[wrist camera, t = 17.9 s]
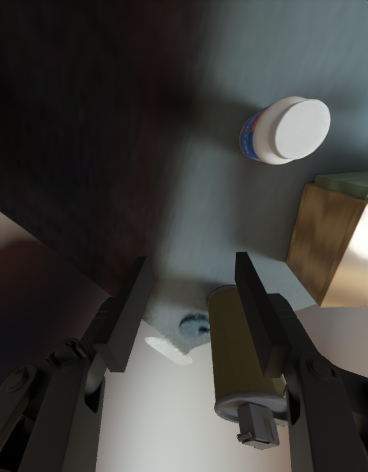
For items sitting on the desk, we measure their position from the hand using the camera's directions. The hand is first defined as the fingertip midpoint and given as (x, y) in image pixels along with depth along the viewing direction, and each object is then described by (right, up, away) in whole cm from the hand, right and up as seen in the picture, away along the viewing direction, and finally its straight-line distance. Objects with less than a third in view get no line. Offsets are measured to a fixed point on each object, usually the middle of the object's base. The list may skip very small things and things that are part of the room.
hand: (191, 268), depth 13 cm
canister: (+10, -12, +23) cm, 28 cm away
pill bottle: (+9, +16, +8) cm, 20 cm away
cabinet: (+24, +4, +13) cm, 28 cm away
